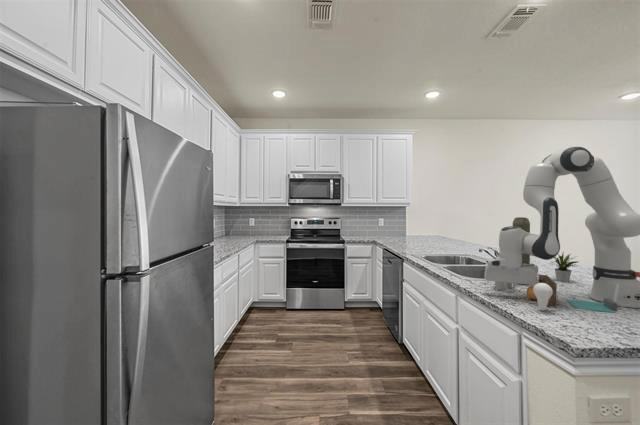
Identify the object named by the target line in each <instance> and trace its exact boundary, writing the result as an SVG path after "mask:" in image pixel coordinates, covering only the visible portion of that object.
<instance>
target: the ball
mask: <svg viewBox="0 0 640 425" xmlns="http://www.w3.org/2000/svg"><path fill="white" fill-rule="evenodd" d="M534 286H535V285H529V287H528V288H526V295H527V297H528V298H530V299H531V300H533V301H537V297H536V295H535V294H534V292H533V287H534Z"/></svg>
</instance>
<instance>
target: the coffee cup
mask: <svg viewBox="0 0 640 425" xmlns="http://www.w3.org/2000/svg"><path fill="white" fill-rule="evenodd" d="M506 286H507V288H512V287H513V283H507V285H506ZM494 288H495V289H496V290H498V291H502V290H503V292H506V287H505V286H504V284H503V282H496V281H494Z"/></svg>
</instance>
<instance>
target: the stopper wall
mask: <svg viewBox="0 0 640 425" xmlns="http://www.w3.org/2000/svg"><path fill="white" fill-rule="evenodd" d="M603 305H604V306H606V307H607V308H609V309H610V310H613V311H614V312H618V306H617V303H616V302H614V301H613V300H611V299H606V298H604V302H603Z"/></svg>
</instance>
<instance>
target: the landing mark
mask: <svg viewBox="0 0 640 425" xmlns="http://www.w3.org/2000/svg"><path fill="white" fill-rule="evenodd" d="M565 301H567V302H568V303H569V304H570V305H571V306H572V307H573V308H575V309H579V310H586V311H587V310H588V311H596V312H603V313H604V312H605V313H613V314H616V312H617V311H613V310H610V309H609V308H607V307H606V306H604V305H603V304H604V302H599V301H597V302H596V301H585V300H579V299H578V300H577V299H570V298H565Z"/></svg>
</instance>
